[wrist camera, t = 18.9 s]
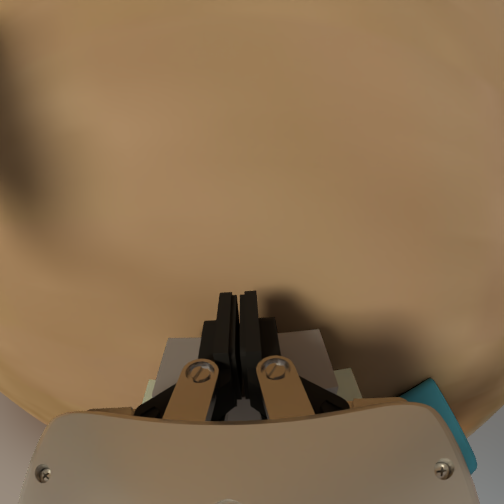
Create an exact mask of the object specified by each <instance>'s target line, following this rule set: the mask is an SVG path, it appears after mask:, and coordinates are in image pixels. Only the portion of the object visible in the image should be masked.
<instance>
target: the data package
mask: <svg viewBox="0 0 504 504" xmlns="http://www.w3.org/2000/svg"><path fill="white" fill-rule="evenodd" d="M399 397H401V398H403V399H405V400H407V401H408V402H417V403H422V404H426V405H428V406H431V407H432V408H434V409H435V410H436V411H437V412H438V413H439V414H440V415H441V416H442V418H443V419H444V421H445V422H446V424H447V425H448V427H449V429H450V430H451V432H452V434H453V436H454V438H455V440H456V442H457V444H458V446H459V448H460V450H461V452H462V454H463V457H464V459H465V462H466V464H467V467H468V469H469V472H470V475H471V474H472V473H473V472H474V471H475V470H476V468H477V462H476V458H475V455H474V453H473V451H472V449H471V447H470V445H469V443H468V441H467V439H466V437H465V435H464V433H463V431H462V429H461V427H460V425H459V423H458V421H457V420H456V418H455V416H454V414H453V412H452V411H451V409H450V407H449V405H448V403H447V402H446V400H445V398H444V396H443V395H442V393H441V391H440V390H439V388H438V386H437V385H436V383H435V382H434V380H433V379H431V378H429V379H427V380H426V381H424V382H423V383H421V384H419V385H418V386H416V387H415V388H413V389H411V390H410V391H408V392H406V393H405V394H403V395H401V396H399Z"/></svg>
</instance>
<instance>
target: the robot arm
mask: <svg viewBox="0 0 504 504" xmlns="http://www.w3.org/2000/svg"><path fill="white" fill-rule="evenodd" d="M242 375H243V383H244V391H245V398H246V399H250V406H251V407H252V408H254V409H255V410H257V411H258V412H259V414H260V419H261V420H251V421H228V412H229V411H230V410H232V409H233V408H234V407H237V400H242ZM18 504H480V502H479V499H478V496H477V492H476V489H475V485H474V483H473V480H472V477H471V475H470V472H469V469H468V467H467V464H466V462H465V459H464V457H463V454H462V452H461V450H460V448H459V446H458V444H457V442H456V440H455V438H454V436H453V434H452V432H451V430H450V429H449V427H448V425H447V424H446V422H445V421H444V419H443V418H442V416H441V415H440V414H439V413H438V412H437V411H436V410H435V409H434V408H432V407H431V406H428V405H426V404H422V403H417V402H408V401H407V400H405V399H403V398H401V397H388V398H360V399H353V401H346V400H345V399H343V398H342V397H340V396H338V395H336V394H334V393H332V392H330V391H328V390H326V389H324V388H322V387H320V386H318V385H316V384H314V383H312V382H310V381H308V380H306V379H305V378H303V377H301V376H299V375H298V373H297V370H296V368H295V366H294V364H293V362H292V361H291V360H289V359H288V358H286V357H283V356H281V352H280V346H279V340H278V334H277V328H276V321H275V317H269V318H258V307H257V295H256V291H245V295H240V323H239V314H238V304H237V295H232V292H226V293H220V296H219V304H218V312H217V320H215V321H204V325H203V331H202V337H201V342H200V348H199V354H198V359H196V360H193V361H191V362H188V363H187V364H186V365H185V366H184V368H183V369H182V371H181V374H180V376H179V378H178V381H177V383H176V384H174V385H172V386H171V387H169V388H168V389H166V390H164V391H163V392H161V393H159V394H158V395H156V396H155V397H153V398H151V399H150V400H148V401H146V402H144V403H143V404H141V405H140V406H139V407H137V409H132V407H122V408H101V409H89V410H87V411H75V412H68V413H64V414H61V415H58V416H56V417H55V418H53V419H52V420H51V421H50V423H49V424H48V425H47V427H46V429H45V430H44V432H43V433H42V435H41V437H40V439H39V441H38V444H37V446H36V449H35V451H34V453H33V456H32V458H31V461H30V464H29V467H28V470H27V473H26V476H25V479H24V483H23V486H22V490H21V493H20V498H19V502H18Z"/></svg>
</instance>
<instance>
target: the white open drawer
mask: <svg viewBox="0 0 504 504" xmlns="http://www.w3.org/2000/svg"><path fill="white" fill-rule="evenodd" d="M277 334H278V340H279V346H280V352H281V356H283V357H286V358H288V359H289V360H291V361H292V362H293V364H294V366H295V368H296V370H297V373H298V375H299V376H301V377H303V378H305V379H306V380H308V381H310V382H312V383H314V384H316V385H318V386H320V387H322V388H324V389H326V390H328V391H330V392H332V393H334V394H336V395H338V396H340V397H342V398H343V399H345V400H346V401H353V399H360V398H362V395H361V393H360V390H359V388H358V385H357V382H356V380H355V377H354V375H353V372H352V370H351V368H347V369H341V370H335V371H333V368H332V365H331V362H330V359H329V356H328V353H327V350H326V348H325V345H324V342H323V339H322V336H321V333H320V331H319V329H315V330H306V331H297V332H287V333H277ZM200 342H201V338H168V341H167V344H166V347H165V351H164V354H163V357H162V361H161V364H160V367H159V371H158V374H157V378H156V380H149V382H148V385H147V389H146V392H145V395H144V399H143V402H142V404H143V403H144V402H146V401H148V400H150V399H151V398H153V397H155V396H156V395H158V394H159V393H161V392H163V391H164V390H166V389H168V388H169V387H171V386H172V385H174V384H176V383H177V381H178V378H179V376H180V374H181V371H182V369H183V368H184V366H185V365H186V364H187V363H188V362H191V361H193V360H196V359H198V354H199V348H200ZM251 420H261V419H260V414H259V412H258V411H257V410H255V409H254V408H252V407H251V406H250V399H246V398H245V391H244V383H243V375H242V400H237V407H234V408H233V409H232V410H230V411H229V412H228V421H251Z"/></svg>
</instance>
